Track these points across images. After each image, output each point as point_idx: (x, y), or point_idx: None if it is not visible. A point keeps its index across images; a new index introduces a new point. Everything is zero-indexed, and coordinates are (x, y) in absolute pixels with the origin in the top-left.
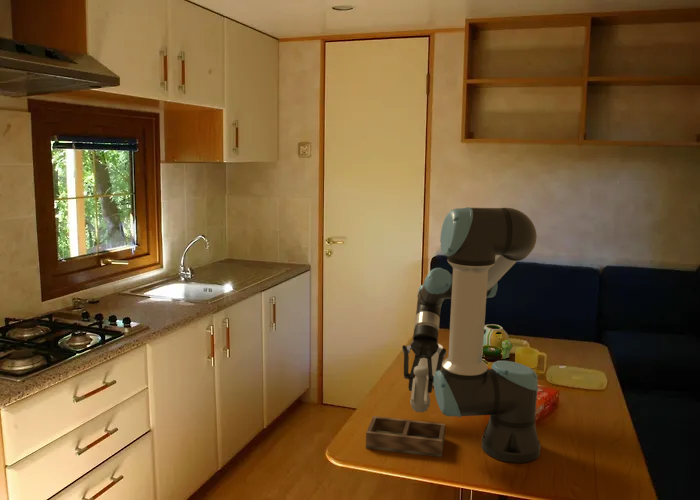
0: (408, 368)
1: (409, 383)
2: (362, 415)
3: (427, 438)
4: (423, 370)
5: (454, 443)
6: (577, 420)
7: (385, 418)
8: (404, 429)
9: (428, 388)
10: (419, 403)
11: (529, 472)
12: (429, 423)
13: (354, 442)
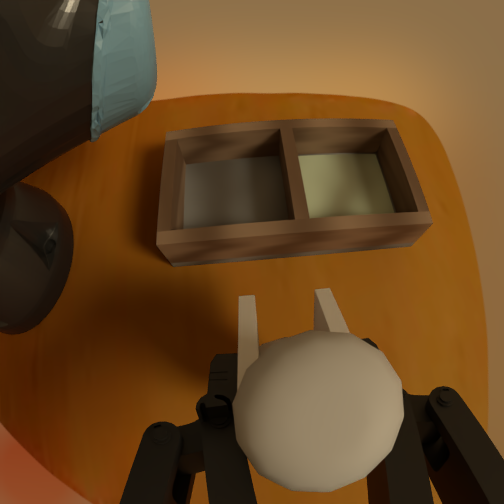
0: (439, 495)
1: None
2: (475, 340)
3: (210, 131)
4: (282, 348)
5: (142, 247)
6: None
7: (390, 216)
8: (296, 158)
9: (234, 364)
10: (284, 338)
11: None
12: (216, 227)
13: (418, 170)
